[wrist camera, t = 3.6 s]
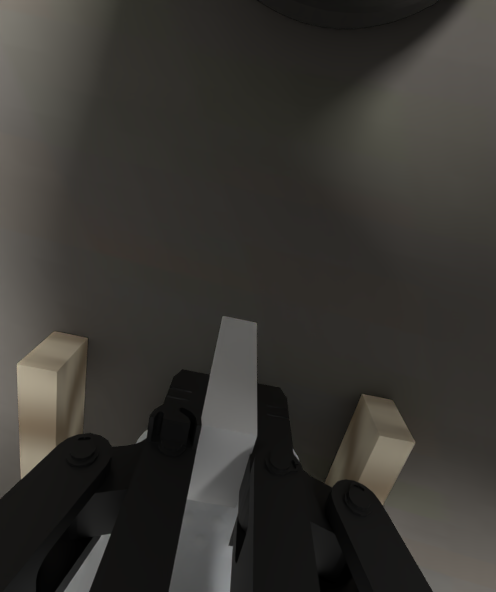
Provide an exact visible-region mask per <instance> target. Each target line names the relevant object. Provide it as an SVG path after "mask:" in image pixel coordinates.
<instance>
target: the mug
mask: <svg viewBox="0 0 496 592" xmlns="http://www.w3.org/2000/svg"><path fill="white" fill-rule="evenodd" d="M147 432H148V429H147V430H146V431H145V432H144V433H143V434H142V435H141V436H140V437H139V439H138V441H137V442H136V443H139V442H141V441H143V440H144V439H146V438H147ZM136 443H135V444H136ZM293 453H294V455H295V456H296V458H297V459H298V460H299V457H298V456H297V454H296V453H295V451H294V449H293ZM303 471H304V470H303ZM238 504H239V499H238V502H237V505H236V508H233V507H227V506H222V505H216V504H210V503H205V502H199V501H193V500H187V501H186V506H185V511H184V516H183V521H182V526H181V532H180V537H179V542H178V547H177V552H176V557H175V562H174V567H173V572H172V577H171V582H170V587H169V592H230V583H231V567H232V551H233V546H228V545H229V542H230V538H231V535H232V531H233V528H234V525H235V521H236V518H237V515H238ZM110 535H111V534H106V535H101V537H100V539H99V540H98V542H97V543H96V545H95V546H94V548H93V549H92V551H91V552H90V554H89V555H88V557H87V558H86V560H85V561H84V562H83V564H82V565H81V567H80V568H79V570H78V571H77V573H76V574H75V576H74V577H73V579H72V580H71V582H70V583H69V585H68V586H67V588H66V589H65V591H64V592H89V591H90V588H91V585H92V583H93V580H94V577H95V575H96V572H97V569H98V567H99V564H100V561H101V559H102V556H103V554H104V551H105V548H106V546H107V543H108V540H109V538H110Z"/></svg>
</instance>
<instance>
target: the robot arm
mask: <svg viewBox="0 0 496 592" xmlns="http://www.w3.org/2000/svg"><path fill="white" fill-rule="evenodd" d="M258 1H260V2H262V3H263V4H265V5H266V6H268V7H269V8H271V9H273V10H275V11H277V12H279V13H281V14H283V15H285V16H287V17H290V18H292V19H295V20H297V21H301V22H304V23H307V24H311V25H316V26H320V27H328V28H339V29H353V28H365V27H372V26H378V25H382V24H386V23H390V22H393V21H396V20H399V19H402V18H405V17H407V16H410V15H412V14H415V13H417V12H419V11H421V10H423V9H425V8H427V7H429V6H431V5H433V4H434V3H436V2H438V1H439V0H258ZM238 499H239V504H238V515H237V518H236V521H235V525H234V528H233V531H232V535H231V538H230V542H229V545H228V546H233V551H232V567H231V583H230V592H433V591H432V590H431V588H430V586H429V584H428V583H427V581H426V579H425V577H424V576H423V574H422V572H421V571H420V569H419V567H418V565H417V564H416V562H415V560H414V559H413V557H412V555H411V553H410V552H409V550H408V548H407V547H406V545H405V543H404V541H403V540H402V538H401V536H400V535H399V533H398V531H397V529H396V528H395V526H394V524H393V523H392V521H391V519H390V517H389V516H388V514H387V512H386V511H385V509H384V507H383V505H382V504H381V502H380V501H379V499H378V498H377V497H376V495H375V494H374V493H373V492H372V491H371V490H370V489H368V488H367V487H366V486H365V485H363V484H361V483H359V482H357V481H354V480H347V479H344V480H340V481H337V482H336V483H335V484H334V486H333V487H331V486H329V485H327V484H325V483H322V482H320V481H318V480H316V479H314V478H313V477H311V476H309V475H308V474H307V473H306V472H305V471H303V469H302V466H301V463H300V461H299V460H298V459H297V458H296V456H295V455H294V453H293V445H292V437H291V429H290V421H289V413H288V405H287V398H286V396H285V395H284V393H283V392H282V390H281V389H280V388H279V387H274V386H269V385H264V384H259V383H257V323H255V322H251V321H246V320H241V319H236V318H231V317H227V316H222V321H221V326H220V330H219V335H218V340H217V344H216V349H215V354H214V358H213V363H212V368H211V372H210V375H208V374H203V373H198V372H193V371H188V370H183V369H182V370H181V371H180V372H179V373H178V374H176V375H175V376H174V377H173V380H172V382H171V385H170V388H169V390H168V393H167V396H166V399H165V401H164V404H163V405H162V406H160V407H158V408H157V409H155V410H154V411H153V412H152V414H151V415H150V418H149V425H148V432H147V438H146V439H144V440H143V441H141V442H139V443H136V444H133V445H128V446H119V447H111V445H110V444H109V442H108V440H106V439H105V438H103V437H102V436H100V435H96V434H91V433H87V434H78V435H75V436H72V437H69V438H67V439H66V440H64V441H63V442H61V443H60V444H58V445H57V446H56V447H55V448H54V449H53V450H52V451H51V452H50V453H49V454H48V455H47V456H46V457H45V458H44V459H42V460H41V461H40V462H39V463H38V464H37V465H36V466H35V467H34V468H33V469H32V470H31V471H30V472H29V473H28V474H27V475H25V476H24V477H23V478H22V479H21V480H20V481H19V482H18V483H17V484H16V485H15V486H14V487H13V488H12V489H11V490H10V491H8V492H7V493H6V494H5V495H4V496H3V497H2V498H1V499H0V592H64V591H65V589H66V588H67V586H68V585H69V583H70V582H71V580H72V579H73V577H74V576H75V574H76V573H77V571H78V570H79V568H80V567H81V565H82V564H83V562H84V561H85V560H86V558H87V557H88V555H89V554H90V552H91V551H92V549H93V548H94V546H95V545H96V543H97V542H98V540H99V539H100V537H101V535H106V534H111V535H110V538H109V540H108V543H107V546H106V548H105V551H104V554H103V556H102V559H101V561H100V564H99V567H98V569H97V572H96V575H95V577H94V580H93V583H92V585H91V588H90V591H89V592H169V587H170V582H171V577H172V572H173V567H174V562H175V557H176V552H177V547H178V542H179V537H180V532H181V526H182V521H183V516H184V511H185V506H186V501H187V500H193V501H199V502H205V503H210V504H216V505H222V506H227V507H233V508H236V505H237V502H238Z"/></svg>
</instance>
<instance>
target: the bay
mask: <svg viewBox="0 0 496 592" xmlns="http://www.w3.org/2000/svg"><path fill="white" fill-rule="evenodd" d="M87 348H88V338H86V337H81V336H76V335H71V334H66V333H61V332H56V331H54V332H53V333H51V334H50V335H49V336H48V337H47V338H46V339H45V340H43V341H42V342H41V343H40V344H39V345H38V346H37V347H36V348H34V349H33V350H32V351H31V352H30V353H29V354H28V355H26V356H25V357H24V358H23V359H22V360H21V361H20V362H18V363H17V385H18V413H19V442H20V470H21V479H22V478H23V477H24V476H25V475H27V474H28V473H29V472H30V471H31V470H32V469H33V468H34V467H35V466H36V465H37V464H38V463H39V462H40V461H41V460H42V459H44V458H45V457H46V456H47V455H48V454H49V453H50V452H51V451H52V450H53V449H54V448H55V447H56V446H57V445H58V444H60V443H61V442H63V441H64V440H66V439H67V438H69V437H72V436H75V435H78V434H83V422H84V404H85V385H86V366H87ZM414 445H415V441H414V439H413V437H412V435H411V433H410V431H409V430H408V428H407V426H406V424H405V422H404V420H403V418H402V417H401V415H400V413H399V411H398V409H397V407H396V405H395V403H394V402H393V400H390V399H385V398H380V397H375V396H370V395H365V394H362V395H361V397H360V400H359V402H358V405H357V407H356V409H355V412H354V414H353V416H352V419H351V421H350V424H349V426H348V428H347V431H346V433H345V435H344V438H343V440H342V443H341V445H340V447H339V450H338V452H337V454H336V457H335V459H334V462H333V464H332V466H331V469H330V471H329V473H328V476H327V478H326V481H325V484H327V485H329V486H331V487H333V486H334V484H335V483H336V482H337V481H340V480H344V479H347V480H354V481H357V482H359V483H361V484H363V485H365V486H366V487H367V488H368V489H370V490H371V491H372V492H373V493H374V494H375V495H376V497H377V498H378V499H379V501H380V502H381V504H382V505H383V504H384V502H385V500H386V498H387V496H388V494H389V492H390V490H391V489H392V487H393V485H394V483H395V481H396V479H397V477H398V475H399V473H400V471H401V470H402V468H403V466H404V464H405V462H406V460H407V458H408V456H409V454H410V452H411V451H412V449H413V447H414Z"/></svg>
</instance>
